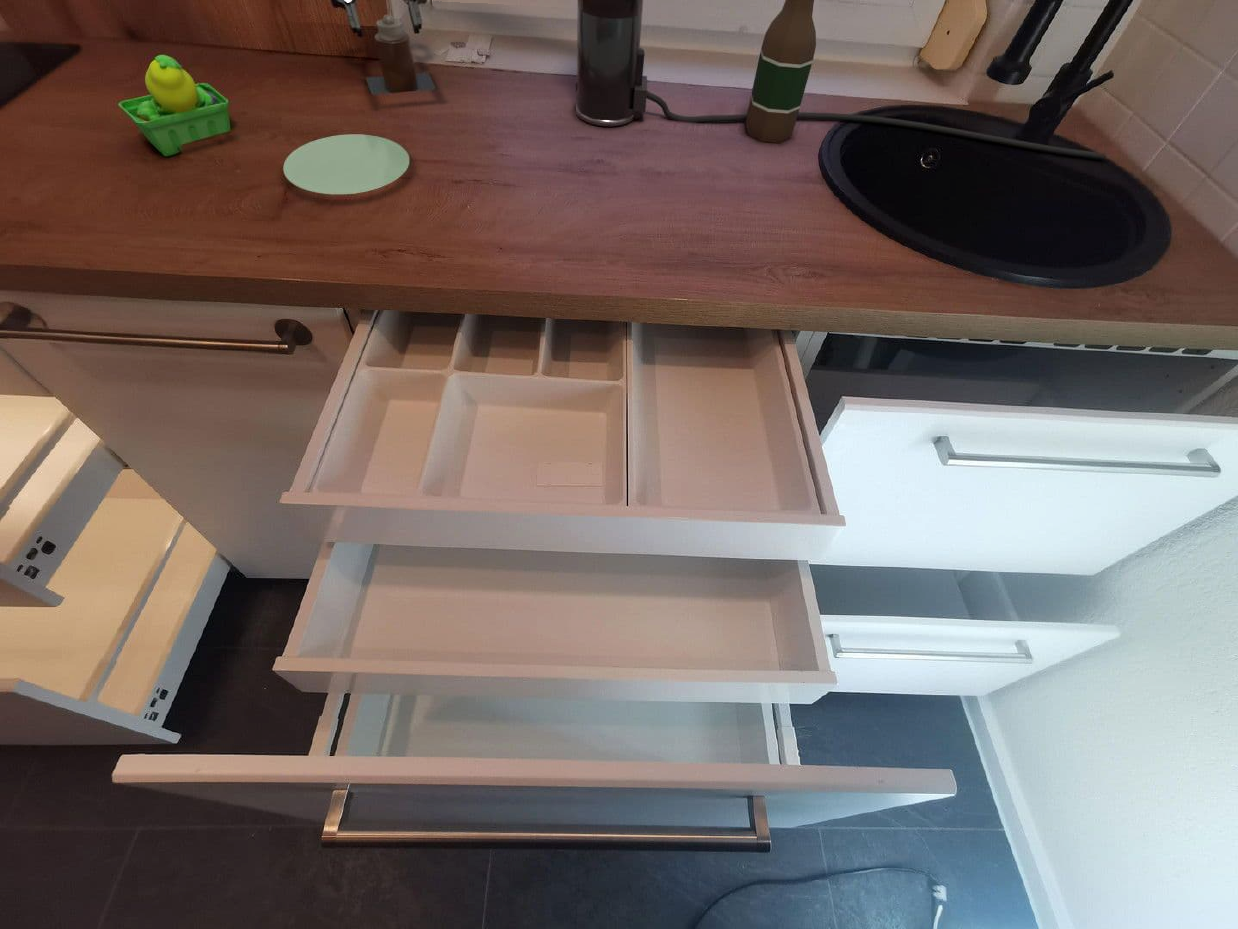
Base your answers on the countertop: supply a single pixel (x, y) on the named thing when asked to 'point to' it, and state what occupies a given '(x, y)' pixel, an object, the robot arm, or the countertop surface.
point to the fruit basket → (176, 108)
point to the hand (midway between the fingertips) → (389, 32)
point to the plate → (346, 164)
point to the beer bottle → (782, 73)
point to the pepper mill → (395, 56)
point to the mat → (378, 87)
